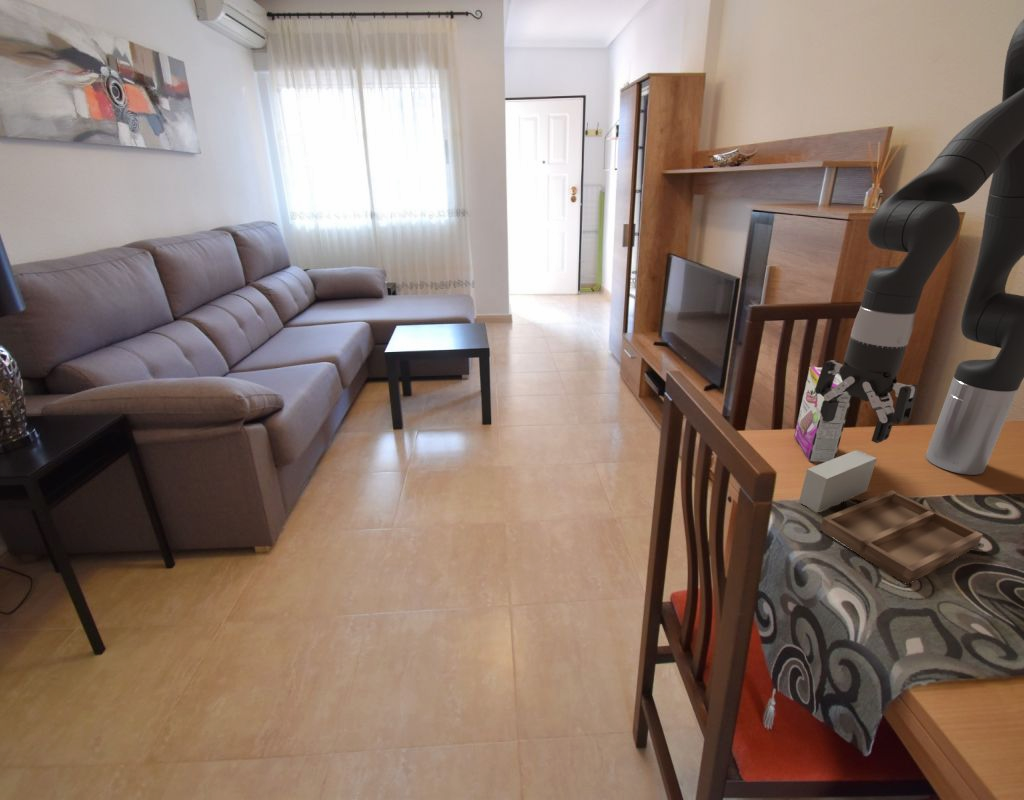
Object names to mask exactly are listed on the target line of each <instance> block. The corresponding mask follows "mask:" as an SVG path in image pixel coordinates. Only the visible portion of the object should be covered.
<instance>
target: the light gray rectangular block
mask: <svg viewBox="0 0 1024 800" xmlns="http://www.w3.org/2000/svg"><path fill="white" fill-rule="evenodd" d="M877 459H878V458H877V457H875V456H873V455H870V454H868V453H865V452H864V451H860V449H859V450H858V449H855V450H853V451H850V452H847V453H845V454H842V455H840V456H836V457H835V458H834V459H832V460H829V461H827V462H824V463H819V464H817V465H814V466H812V467H809V468H807V469H806V473H805V477H804V481H803V484H802V488H801V492H800V493H801V494H800V496H799V500H798V504H800V503H802V504H803V505H806V506H807V507H810V508H811V509H814V510H815V511H817V512H819V511H821V510H823V509H826V508H828V509H830V508H829V507H831V506H833V507H835V506H837V505H839V504H841V502H842V503H844V502H846V501H849V500H850V499H852V498H855V497H857V496H860V495H862V494H863V493H866V492H868V491H867V490H868V487H869V484H870V482H871V478H872V475H873V472H874V469H875V465H876V462H877ZM843 501H844V502H843ZM836 504H837V505H836ZM803 505H802V506H803ZM834 505H835V506H834ZM807 507H806V508H807ZM831 508H832V507H831ZM826 510H827V509H826Z"/></svg>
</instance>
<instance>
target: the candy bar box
mask: <svg viewBox="0 0 1024 800" xmlns="http://www.w3.org/2000/svg"><path fill="white" fill-rule="evenodd" d="M822 367H823V366H819V367H818V366H809V367H808V368H809V369H808V373H807V376H806V377H807V378H806V380H805V381H806V382H805V387H804V390H803V395H802V400H801V404H800V407H799V408H800V409H799V412H798V417H797V422H796V427H795V431H794V434H793V438H795V439H794V440H796V442H797V443H798V445H799V447H800V448H801V450H802V452H803V454H804V455H805V457H806V459H807V460H808V462H812V463H819V464H822V463H824V462H827V461H829V460H832V459H834V458H837V454H838V451H839V450H838V449H839V446H840V442H841V439H842V434H843V432H844V427H845V424H846V420H847V417H848V412H849V409H850V405H851V401H852V398H853V396H850V395H848V394H849V393H848V392H847V393H845V394H844V395H842V396H841V397H839V398H837V400H838V401H839V404H838V407H837V411H836V414H835V418H834V420H833V421H830V422H825V421H823V417H822V415H821V413H822V409H823V405H824V401H825V399H824V397H823V396H822V395H821V394H817V393H816V392H815V388H816V385H817V382H818V379H819V376H820V373H821V370H822ZM841 382H843V381H842V379H841V376H840V373H838V374H836V375H835V378H834V381H833V384H832V387H831V389H833V388H834V387H836V386H837V385H838V384H840V383H841Z"/></svg>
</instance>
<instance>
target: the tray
mask: <svg viewBox="0 0 1024 800" xmlns="http://www.w3.org/2000/svg"><path fill="white" fill-rule="evenodd" d="M820 529H822V530H823V531H825V532H826V533H827V534H829V535H831V536H832V537H834V538H835V539H837V540H838V541H840V542H841V543H843V544H845V545H846V546H847V547H849V548H850V549H852V550H853V551H855V552H856V553H857V554H859V555H860V556H859V555H858V556H859V557H861V556H862V557H863V558H862V557H861V558H862V559H864V558H865V559H864V560H866V559H867V560H868V561H867V560H866V561H867V562H869V561H870V562H871V564H872V563H873V564H872V565H874V564H875V565H876V566H875V565H874V566H875V567H877V566H878V567H877V568H878V569H879V570H882V571H883V570H884V572H885V573H887V574H888V575H889V576H891V575H892V577H893V576H894V577H893V578H895V577H896V578H898V579H899V580H898V579H897V580H898V581H900V580H901V581H903V582H904V583H906V584H908V585H909V583H910V584H911V582H912V581H913V582H915V581H917V580H919V579H921V578H923V577H925V576H927V575H928V574H931V573H932V572H934V571H936V570H938V569H939V568H941V567H944V566H945V565H948V564H949V563H951V562H953V561H955V560H956V558H957V559H959V558H960V557H962V556H964V555H966V554H967V553H966V552H968V553H970V552H971V551H970V550H972V549H973V550H975V549H976V548H975V547H977V546H979V545H980V543H981V540H982V538H983V533H981V532H980V531H978V530H975V529H973V528H971V527H969V526H967V525H965V524H963V523H960V522H959V521H956V520H955V519H952V518H951V517H948V516H946V515H944V514H942V513H940V512H938V511H936V510H934V509H932V508H930V507H928V506H926V505H924V504H921V503H920V502H917V501H915V499H912V498H909V497H907V496H906V495H903V494H901V493H899V492H897V491H895V490H893V489H891V490H889V491H885V492H884V493H881V494H879V495H877V496H874V497H871V498H869V499H866V500H865V501H862V502H860V503H856V504H854V505H851V506H850V507H847V508H844V509H842V510H839V511H837V512H835V513H832V514H830V515H828V516H824V517H823V518H822V521H821V522H820V526H819V530H820ZM974 548H975V549H974ZM977 548H978V547H977ZM973 550H972V551H973ZM853 551H852V552H853ZM969 551H970V552H969ZM856 553H855V554H856ZM965 553H966V554H965ZM857 554H856V555H857ZM963 554H964V555H963ZM961 555H962V556H961ZM959 556H960V557H959ZM954 559H955V560H954ZM870 562H869V563H870ZM896 578H895V579H896ZM914 580H915V581H914ZM901 581H900V582H901ZM903 582H902V583H903ZM913 582H912V583H913ZM904 583H903V584H904ZM906 584H905V585H906Z"/></svg>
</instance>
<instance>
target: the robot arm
mask: <svg viewBox="0 0 1024 800" xmlns="http://www.w3.org/2000/svg"><path fill="white" fill-rule="evenodd" d="M1007 48H1008V49H1007V51H1006V57H1005V62H1004V71H1003V84H1002V98H1001V102H1000V103H999V104H997V105H996V106H995V105H994V107H992V108H991V109H989V110H988V111H986V112H984V113H983V114H981V115H980V116H978V117H977V118H975V119H974V120H973V121H971V122H969V123H968V124H967V125H966V126H965V127H964V128H962V129H961V130H960V131H959V132H958V133H957V134H956V135H955V136H954V137H952V139H951V140H950V141H949V142H948V143H947V145H946V146H945V147H944V148H943V149H942V151H941V152H940V153H939V154H938V155H937V156H936V158H935V159H934V160H933V161H932V162H931V164H929V166H928V168H926V169H925V170H924V171H922V172H921V173H919V174H918V175H917V176H915V177H914V178H913V179H911V180H910V181H908V182H907V183H905V184H904V185H903V186H902V187H900V189H898V190H897V191H895V192H894V193H892V195H890V196H889V197H888V198H887V199H885V200H884V202H883V203H881V204H880V205H879V206H878V208H877V209H876V210H875V212H874V213H873V215H872V216H871V219H870V221H869V223H868V227H867V236H868V240H869V242H870V243H871V244H872V245H873V246H874V247H876V248H878V249H882V250H885V251H886V250H887V251H895V252H902V253H906V255H905V256H904V259H903V260H902V261H901V262H900V264H899V265H898V266H887V267H878V268H876V269H874V270H873V271H872V272H871V273H870V274H869V276H868V279H867V282H866V285H865V289H864V292H863V293H864V294H863V297H862V300H861V303H860V306H859V310H858V312H857V314H856V315H855V316H856V317H855V318H854V322H853V325H852V327H851V333H850V337H849V340H848V344H847V346H846V351H845V355H844V359H843V361H844V363H843V364H842V363H840V361H839V360H838V359H833V360H832V359H831V360H827V361H824V362H823V364H822V366H821V367H822V370H821V373H820V376H819V379H818V382H817V385H816V388H815V392H816V393H817V394H821V395H822V396H823V397H824V399H825V401H824V405H823V409H822V413H821V415H822V417H823V421H825V422H830V421H833V420H834V418H835V414H836V411H837V407H838V404H839V401H838V400H837V398H839V397H841V396H842V395H844V394H845V393H847V392H848V393H849V394H848V395H850V396H852V398H853V397H854V398H858V399H860V400H862V401H865V402H870V403H869V404H870V405H871V407H872V409H873V410H874V411H875V412H876V415H877V418H878V419H879V420H878V421H877V422H876V425H875V427H874V430H873V434H872V438H871V442H873V443H875V444H879V443H882V442H884V441H886V440H888V438H889V437H890V434H891V431H892V428H893V425H894V424H896V425H899V424H902V423H905V422H908V421H910V419H911V417H912V413H913V409H914V406H915V401H916V399H917V398H916V397H917V394H918V390H919V388H918V385H916V384H904V383H901V382H898V380H897V378H898V377H897V376H898V373H899V372H900V369H901V367H902V366H901V365H902V363H903V360H904V356H905V355H906V354H905V353H906V351H907V347H908V344H909V341H910V339H911V335H912V332H913V328H914V324H915V323H914V322H915V316H916V313H917V309H918V307H919V302H920V300H921V296H922V293H923V290H924V288H925V286H926V284H927V282H928V281H929V279H930V277H931V275H932V274H933V273H934V271H935V269H936V268H937V266H938V264H939V263H940V261H941V260H942V259H943V257H944V255H945V254H946V253H947V251H948V250H949V248H950V247H951V245H952V244H953V242H954V240H955V239H956V237H957V234H958V233H959V230H960V226H961V225H960V223H961V222H960V220H961V218H960V213H959V211H958V209H957V208H956V206H955V204H960V203H962V202H965V201H967V200H969V199H970V198H972V197H973V196H974V195H975V194H976V193H978V191H979V190H980V189H981V188H982V186H983V185H985V183H986V182H987V181H988V180H989V178H990V177H991V175H992V177H991V182H990V186H989V191H988V195H987V201H986V208H985V215H984V222H983V229H982V234H981V235H982V236H981V241H980V246H979V252H978V257H977V262H976V266H975V269H974V273H973V277H972V278H971V279H972V280H971V284H970V287H969V290H968V294H967V297H966V300H965V304H964V306H963V312H962V315H961V322H960V324H961V325H960V328H961V334H962V335H963V337H964V338H965V339H967V340H970V341H972V342H975V343H980V344H983V345H987V346H990V347H996V348H999V349H1000V350H999V352H998V354H997V355H996V356H995V358H991V359H968V360H963V361H961V362H960V363H958V365H957V367H956V369H955V372H954V375H953V378H952V380H951V383H950V385H949V388H948V392H947V395H946V397H945V401H943V402H944V403H943V406H942V409H941V411H940V415H939V417H938V419H937V423H936V425H935V428H934V431H933V434H932V437H931V439H930V442H929V444H928V447H927V451H926V454H925V458H926V459H927V461H928V462H930V463H931V464H933V465H934V466H936V467H939V468H940V469H943V470H946V471H949V472H952V473H957V474H960V475H969V476H970V475H971V476H973V475H975V476H976V475H977V476H978V475H981V474H983V473H985V470H986V468H987V465H988V463H989V462H990V459H991V456H992V454H993V451H994V448H995V447H996V444H997V441H998V439H999V436H1000V434H1001V432H1002V430H1003V427H1004V425H1005V422H1006V419H1007V417H1008V415H1009V413H1010V410H1011V408H1012V405H1013V403H1014V400H1015V398H1016V395H1017V394H1018V391H1019V389H1020V386H1021V384H1022V381H1023V380H1024V295H1019V294H1014V293H1009V292H1008V293H1007V292H1006V286H1007V282H1008V279H1009V276H1010V273H1011V272H1012V270H1013V268H1014V267H1015V265H1016V264H1017V263H1018V262H1019V261H1020V260H1021V259H1022V258H1023V256H1024V18H1023V19H1022V20H1021V22H1019V24H1018V25H1017V27H1015V30H1014V33H1013V35H1012V36H1011V39H1010V42H1009V45H1008V47H1007ZM838 373H839V374H840V376H841V379H842V381H843V382H841V383H840V384H838V385H837V386H836V387H834V388H833V389H831V387H832V384H833V381H834V378H835V375H836V374H838ZM892 391H894V392H895V397H896V403H895V407H894V400H893V398H892V396H891V392H892Z"/></svg>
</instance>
